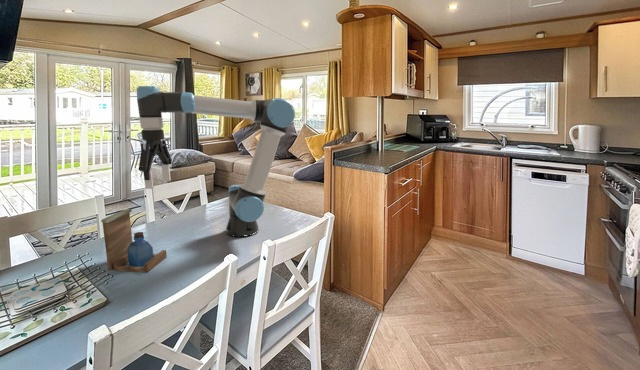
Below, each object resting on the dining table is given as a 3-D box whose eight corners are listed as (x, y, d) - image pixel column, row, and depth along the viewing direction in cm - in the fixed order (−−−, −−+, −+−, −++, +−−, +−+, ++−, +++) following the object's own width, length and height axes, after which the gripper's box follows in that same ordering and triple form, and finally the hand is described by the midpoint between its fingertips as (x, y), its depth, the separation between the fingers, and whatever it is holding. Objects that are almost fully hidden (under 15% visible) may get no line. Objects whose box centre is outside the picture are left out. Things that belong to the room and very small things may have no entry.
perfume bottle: (145, 258, 131) (142, 229, 128) (154, 262, 127) (151, 232, 125) (128, 264, 126) (125, 233, 123) (137, 268, 122) (134, 237, 120)
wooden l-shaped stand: (167, 256, 133) (163, 210, 129) (147, 272, 119) (142, 221, 115) (131, 254, 134) (126, 208, 130) (107, 270, 120) (101, 219, 116)
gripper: (159, 127, 138) (164, 177, 143) (122, 131, 114) (130, 192, 119) (177, 127, 138) (182, 177, 143) (143, 131, 114) (151, 192, 119)
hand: (158, 184), depth 131 cm, fingers open, 13 cm apart
